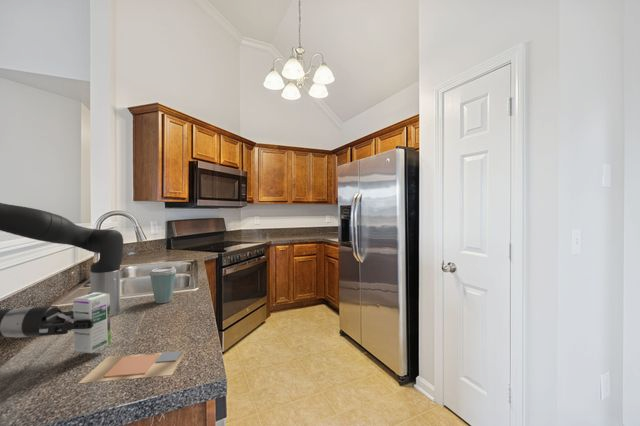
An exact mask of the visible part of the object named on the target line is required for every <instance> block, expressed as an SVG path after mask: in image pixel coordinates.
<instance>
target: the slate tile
mask: <svg viewBox="0 0 640 426" xmlns="http://www.w3.org/2000/svg"><path fill="white" fill-rule="evenodd" d="M182 351H183V350H178V351H177V350H176V351H175V350H174V351H163V352H161V353H162V354H161V355H160V357H159V358H158V359H157V360H156V363H160V362H172V361H177V359H178V357H179V356H180V354H181V353H182Z"/></svg>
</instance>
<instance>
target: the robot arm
mask: <svg viewBox="0 0 640 426" xmlns="http://www.w3.org/2000/svg"><path fill="white" fill-rule="evenodd" d="M0 231H1V232H5V233H7V234H12V235H16V236H20V237H22V238H28V239H32V240H36V241H39V242H40V241H41V242H46V243H50V244H51V243H52V244H58V245H59V244H60V245H67V246H68V245H69V246H74V247H76V248H80V249H82V250H86V251H89V252H91V253H95V254H99V259H98V260H97V261H96V262H93V263H92V264H91V265H90V268H89V269H90V278H89V279H90V281H89V282H90V284H89V285H90V291H89V292H87V295H88V294H92V293H94V292H95V293H96V292H102V293H108V294H110V317H113V316H116V315H118V314H120V312H121V264H122V262H123V256H124V238H123V234H122V233H121V232H120V231H119V230H115V229H96V228H89V227H83V226H80V225H78V224H75V223H73V222H72V221H71V220H69V219H68V218H67V217H64V216H63V215H59V214H56V213H53V212H50V211H46V210H42V209H37V208H33V207H28V206H27V207H26V206H21V205H20V206H19V205H14V204H7V203H3V202H0ZM92 327H93V320H92V319H85V320H76V322H75V320H74V311H73V309H69V310H68V309H67V310H63V311H62V310H61V309H60V308H59V307H58V306H56V305H48V306H30V307H29V306H24V307H18V308H17V307H16V308H5V309H3V308H2V309H0V338H28V337H29V338H31V337H44V336H45V337H47V336H57V335H59V336H60V335H66V334H68V333H69V332H74V330H75V329H90V328H92Z"/></svg>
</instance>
